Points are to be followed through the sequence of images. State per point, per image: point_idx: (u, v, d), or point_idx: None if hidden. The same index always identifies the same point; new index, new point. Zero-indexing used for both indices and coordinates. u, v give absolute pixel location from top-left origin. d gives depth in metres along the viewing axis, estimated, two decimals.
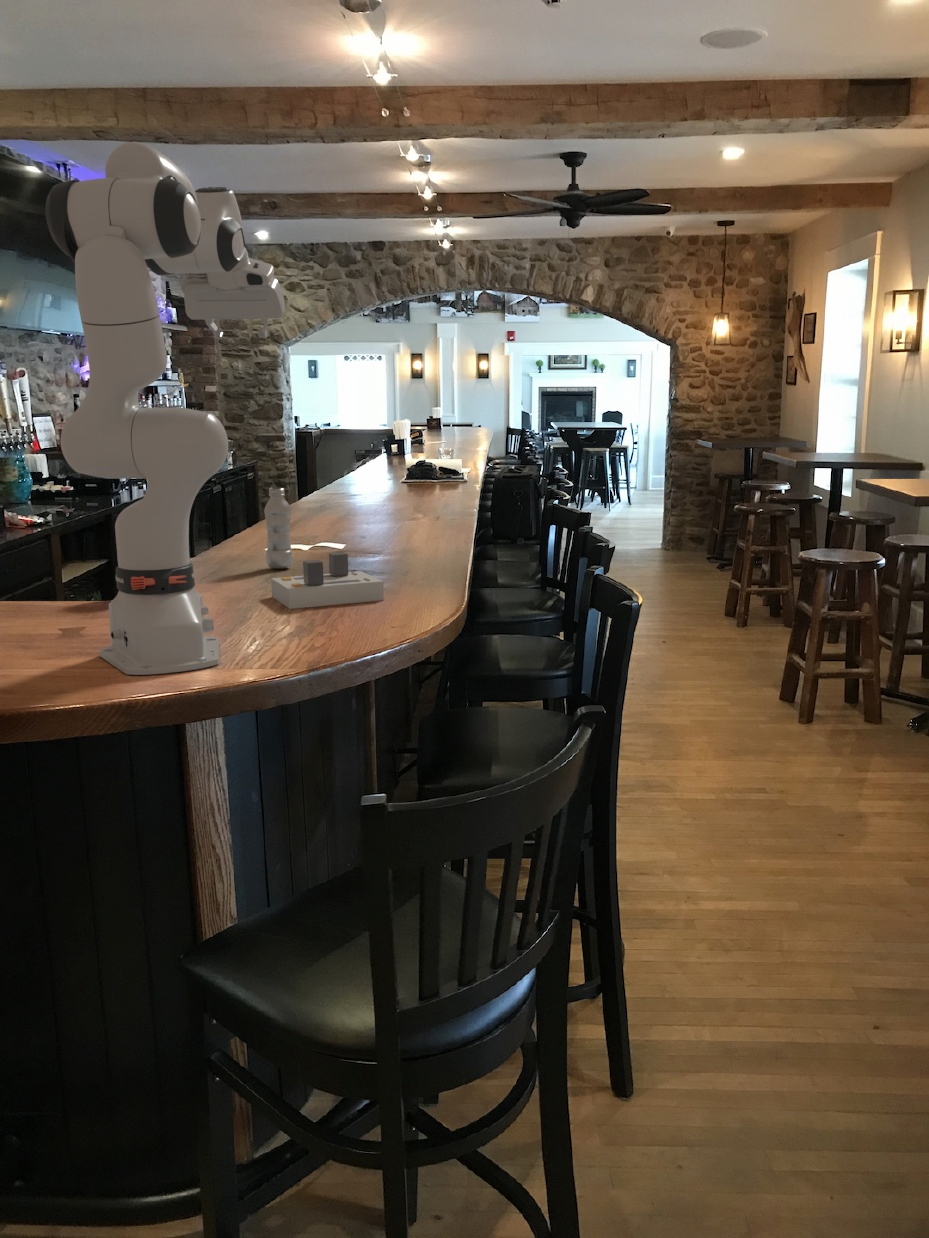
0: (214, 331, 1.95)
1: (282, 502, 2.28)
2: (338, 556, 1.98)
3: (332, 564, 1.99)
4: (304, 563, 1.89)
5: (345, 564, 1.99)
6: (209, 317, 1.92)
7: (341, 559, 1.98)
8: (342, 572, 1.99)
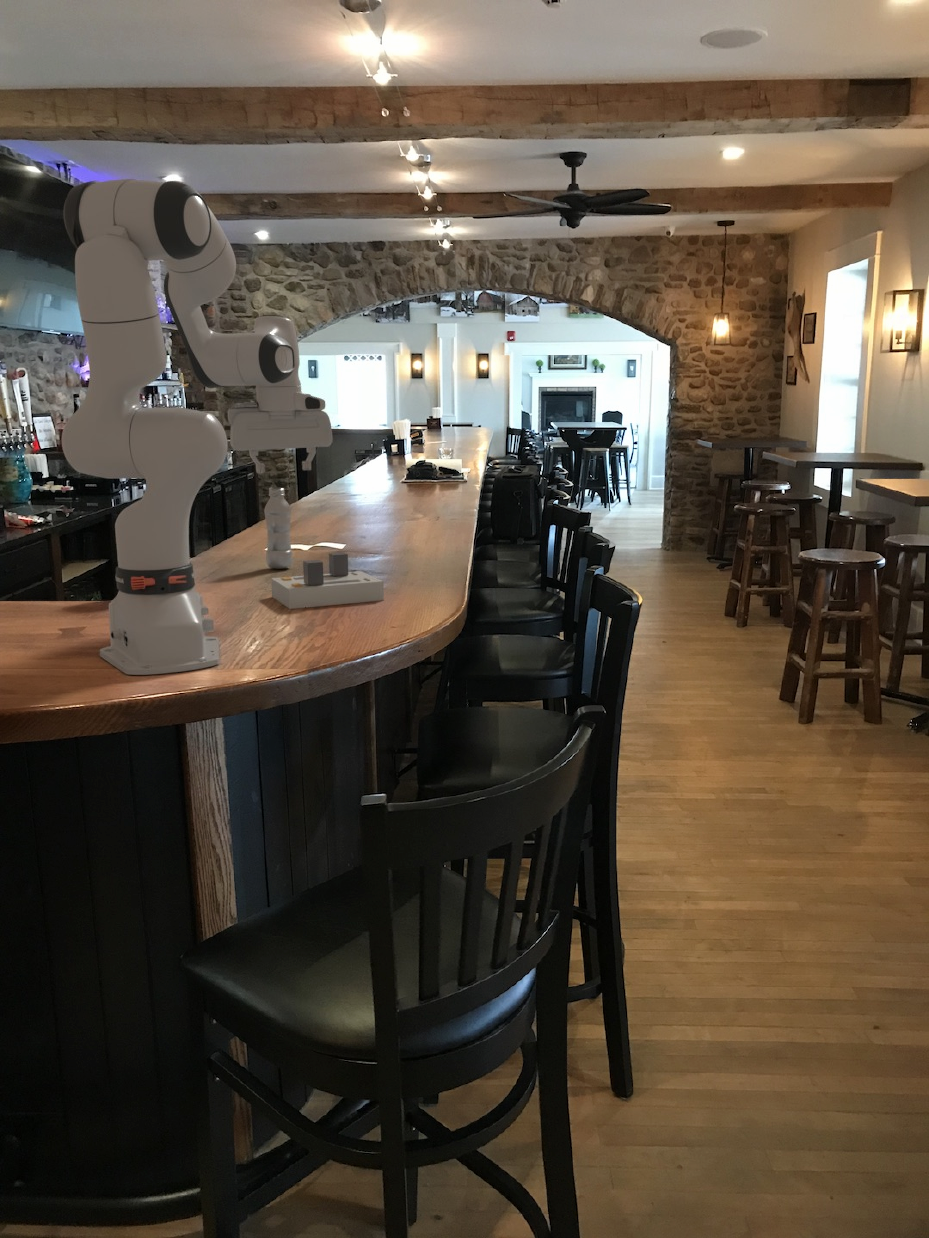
0: (259, 464, 1.86)
1: (282, 502, 2.28)
2: (338, 556, 1.98)
3: (332, 564, 1.99)
4: (304, 563, 1.89)
5: (345, 564, 1.99)
6: (257, 447, 1.84)
7: (341, 559, 1.98)
8: (342, 572, 1.99)
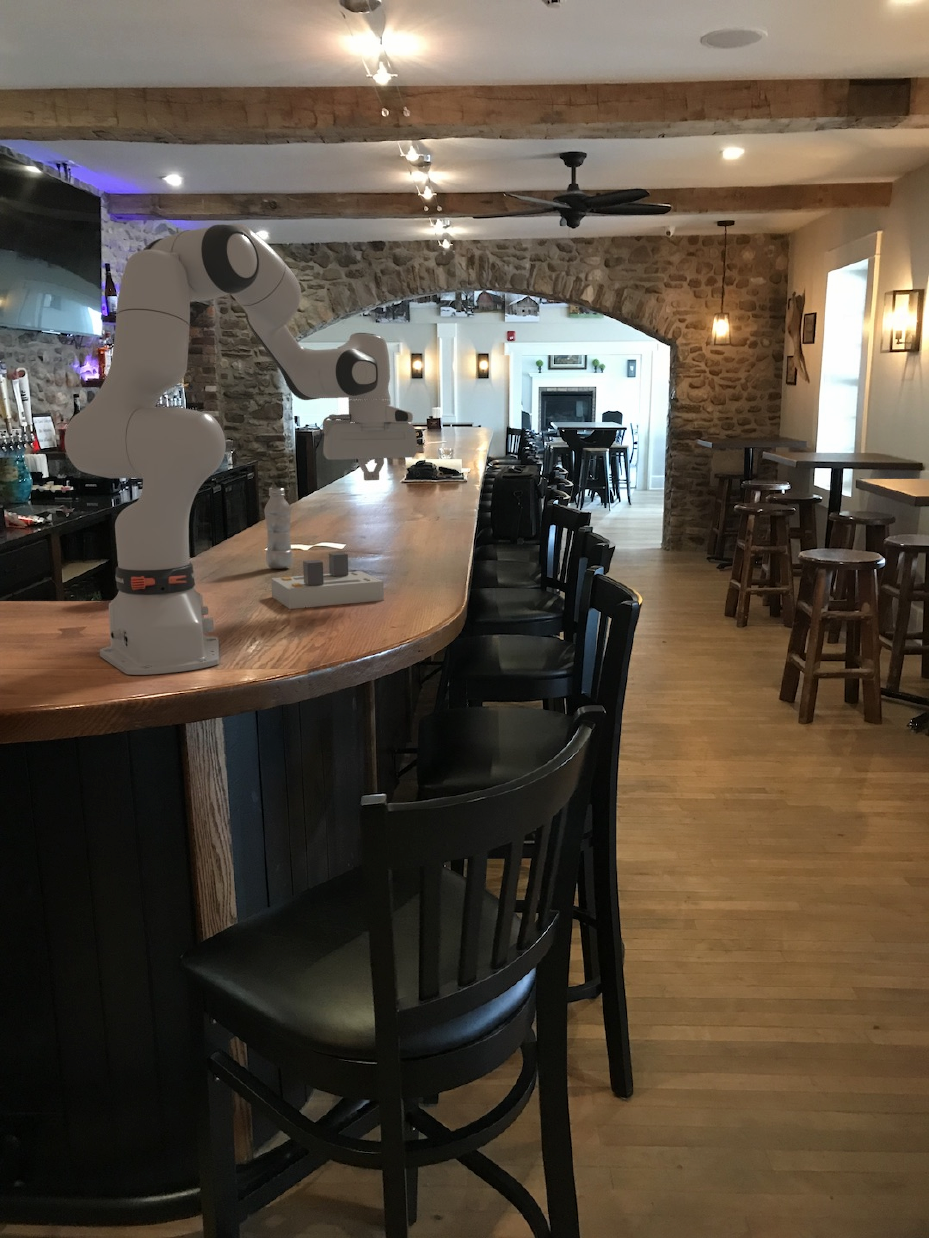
0: (367, 472, 1.98)
1: (282, 502, 2.28)
2: (338, 556, 1.98)
3: (332, 564, 1.99)
4: (304, 563, 1.89)
5: (345, 564, 1.99)
6: (350, 456, 1.95)
7: (341, 559, 1.98)
8: (342, 572, 1.99)
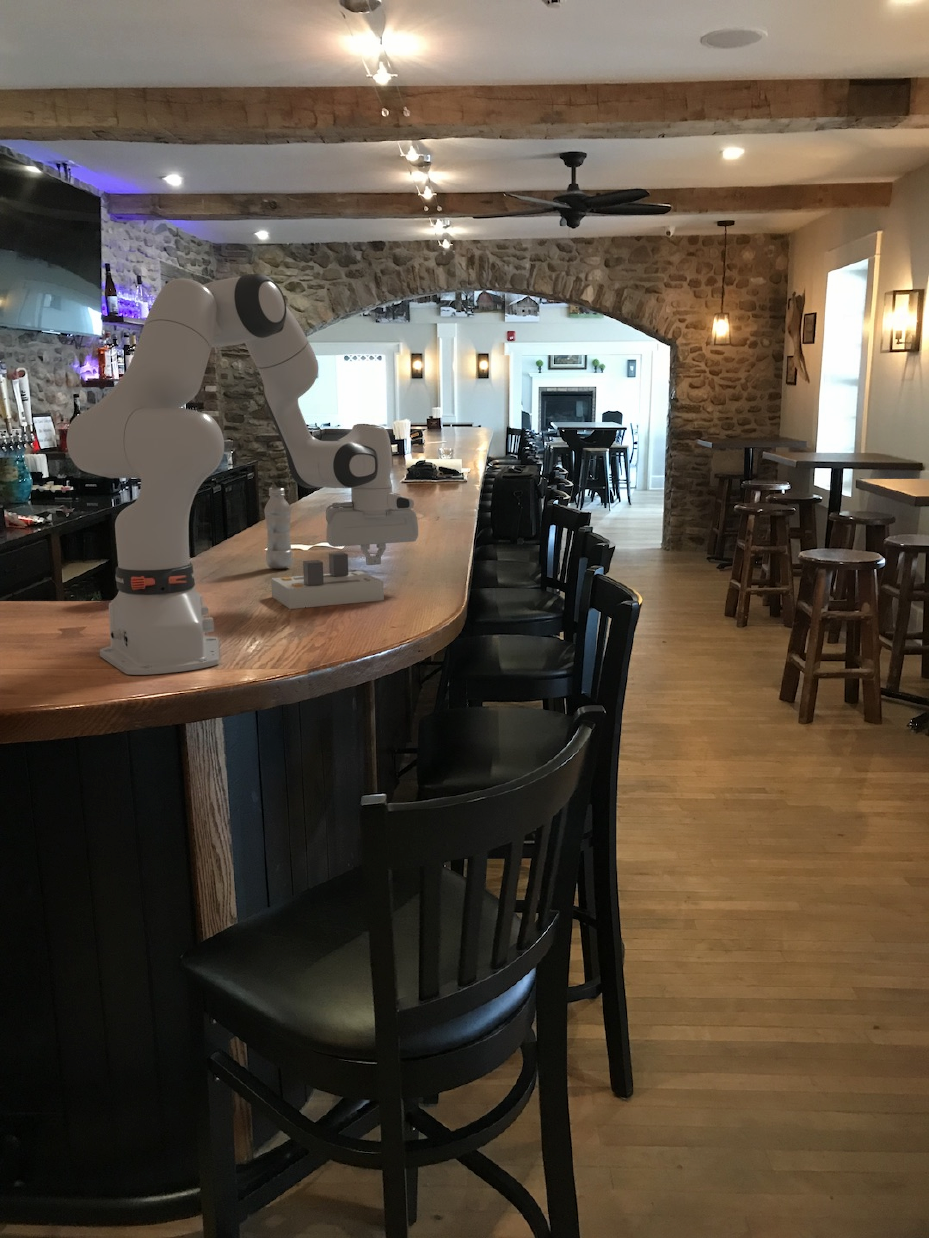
0: (369, 557, 2.02)
1: (282, 502, 2.28)
2: (338, 556, 1.98)
3: (332, 564, 1.99)
4: (304, 563, 1.89)
5: (345, 564, 1.99)
6: (352, 543, 1.99)
7: (341, 559, 1.98)
8: (342, 572, 1.99)
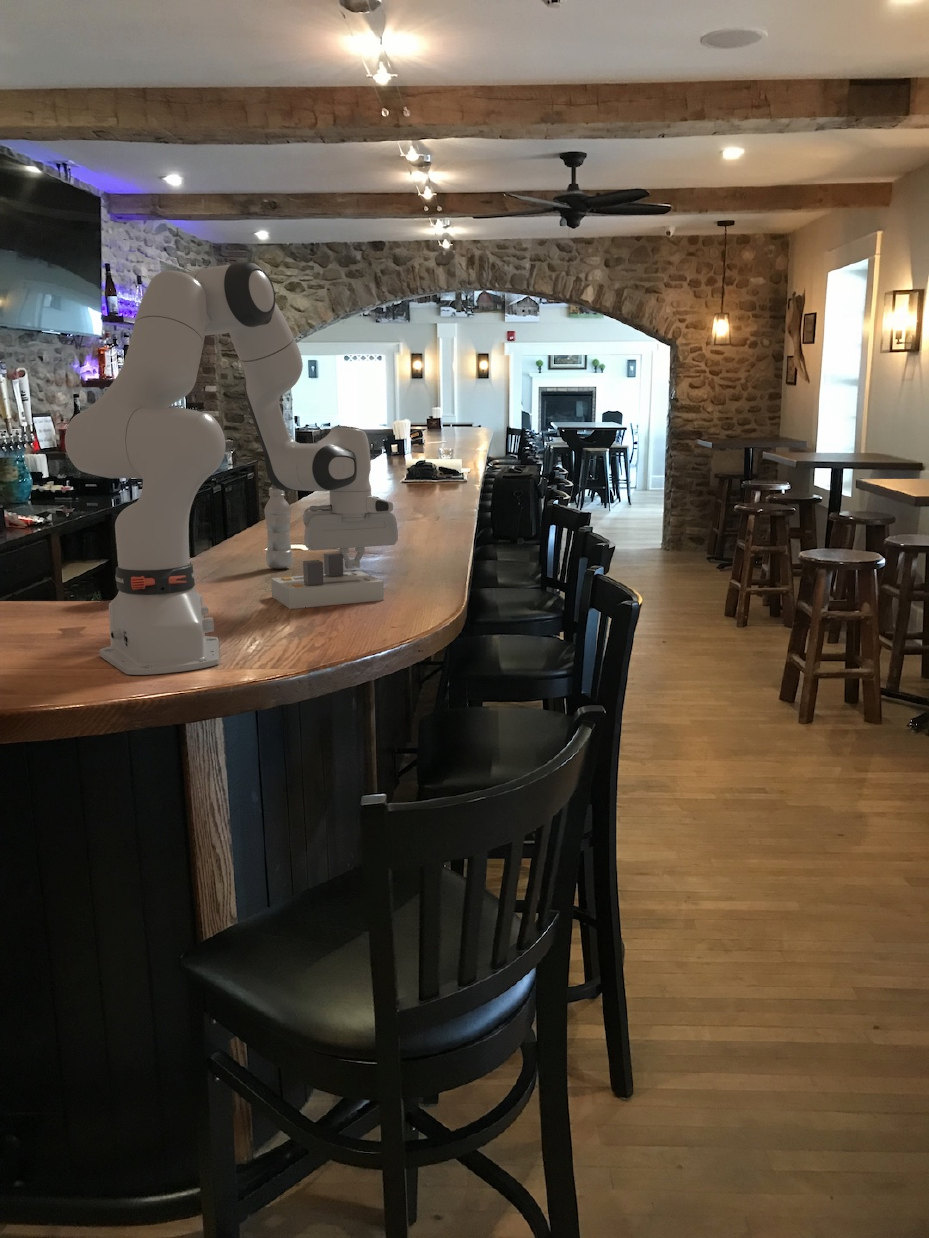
0: (348, 560, 2.00)
1: (282, 502, 2.28)
2: (333, 556, 1.98)
3: (327, 564, 1.98)
4: (304, 563, 1.89)
5: (340, 564, 1.99)
6: (330, 546, 1.96)
7: (336, 560, 1.98)
8: (337, 572, 1.99)
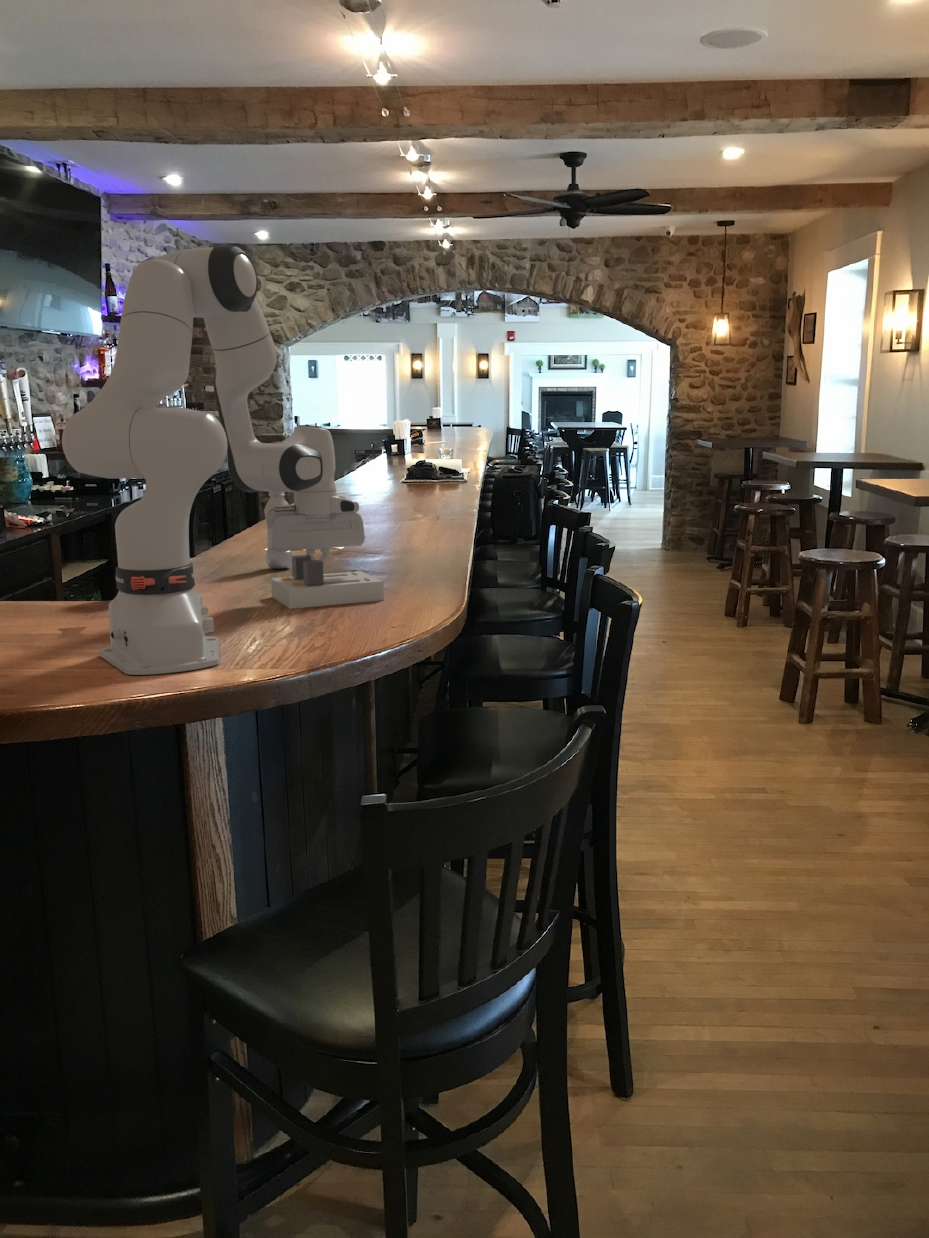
0: None
1: (282, 502, 2.28)
2: (301, 559, 1.95)
3: (295, 567, 1.95)
4: (304, 563, 1.89)
5: None
6: (295, 548, 1.93)
7: None
8: None
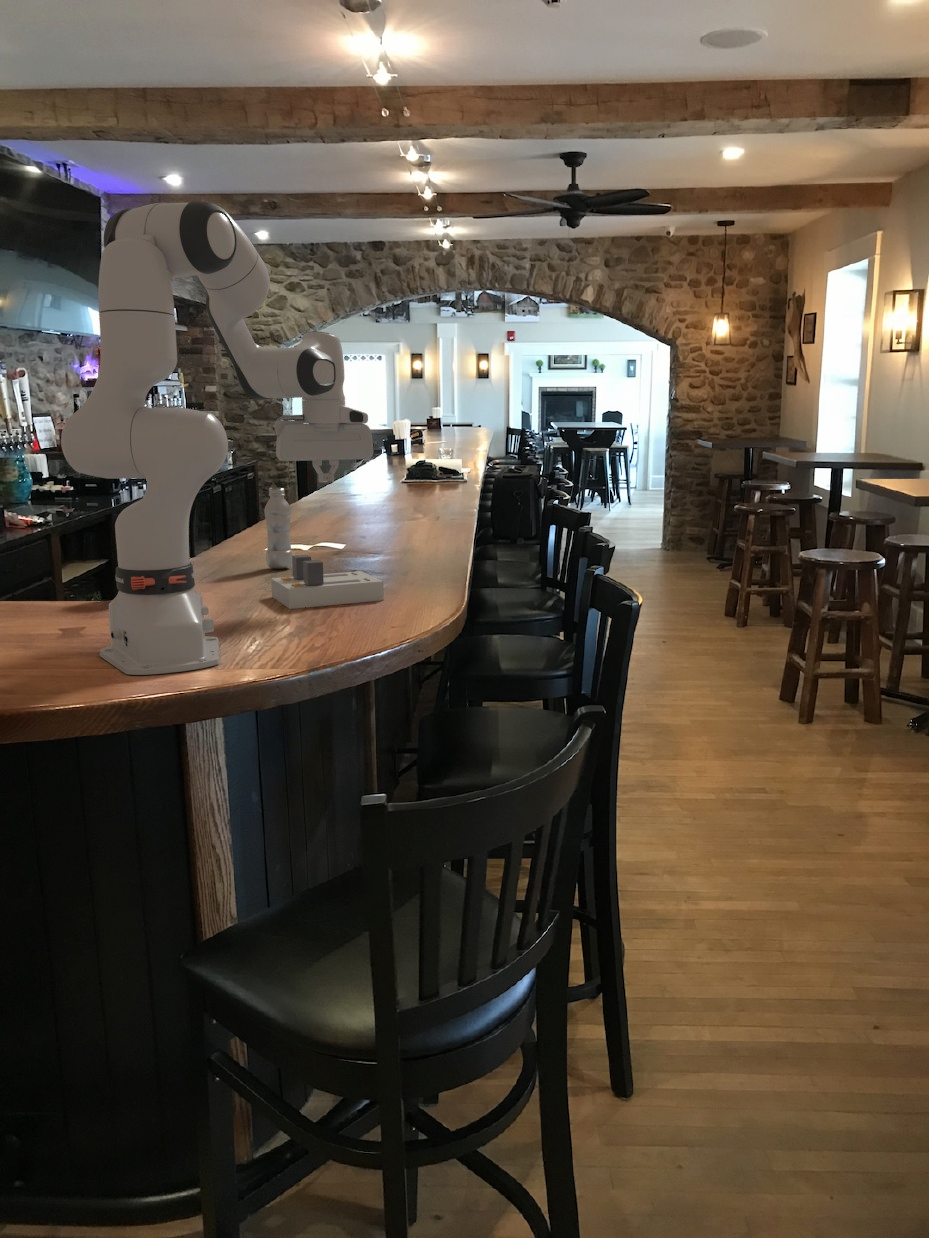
0: (322, 474, 1.94)
1: (282, 502, 2.28)
2: (301, 559, 1.95)
3: (295, 567, 1.95)
4: (304, 563, 1.89)
5: None
6: (303, 458, 1.90)
7: None
8: None
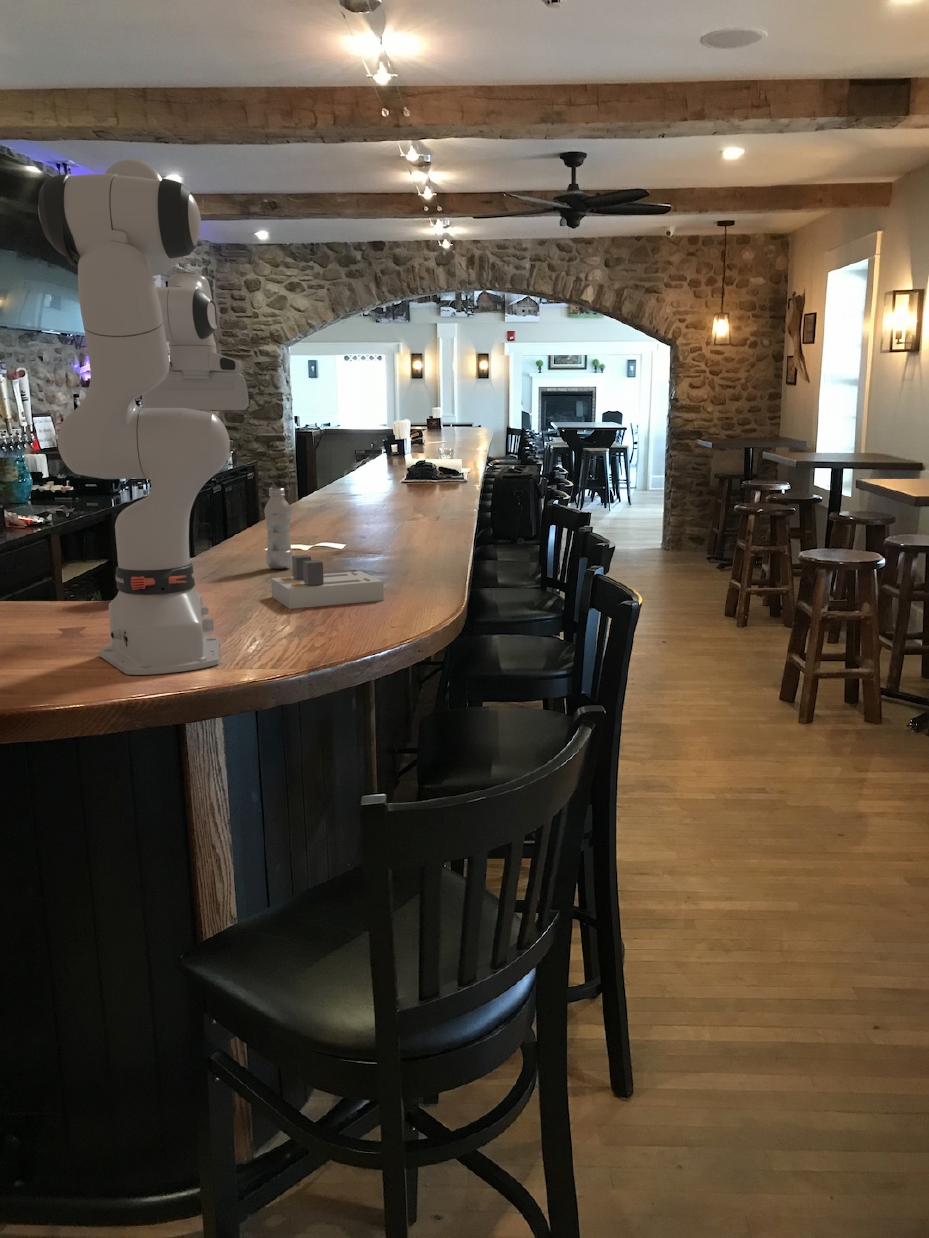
0: None
1: (282, 502, 2.28)
2: (301, 559, 1.95)
3: (295, 567, 1.95)
4: (304, 563, 1.89)
5: None
6: (170, 407, 1.81)
7: None
8: None
